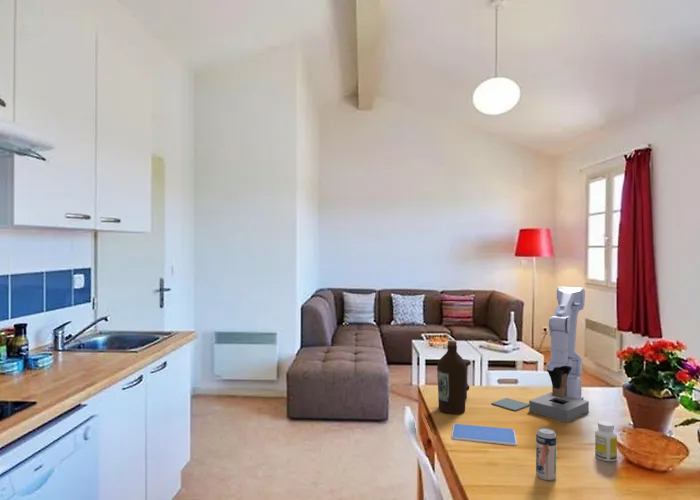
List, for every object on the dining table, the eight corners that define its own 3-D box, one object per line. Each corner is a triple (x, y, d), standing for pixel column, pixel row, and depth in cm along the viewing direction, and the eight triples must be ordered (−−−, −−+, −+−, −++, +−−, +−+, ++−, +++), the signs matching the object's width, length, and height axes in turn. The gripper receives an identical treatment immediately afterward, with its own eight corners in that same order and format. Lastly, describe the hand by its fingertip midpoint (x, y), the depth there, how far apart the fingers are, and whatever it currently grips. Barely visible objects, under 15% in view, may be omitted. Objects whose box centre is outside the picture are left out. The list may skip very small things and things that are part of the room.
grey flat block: (551, 402, 183) (551, 392, 183) (588, 411, 172) (588, 401, 172) (529, 411, 173) (529, 400, 173) (567, 422, 162) (567, 410, 162)
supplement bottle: (614, 455, 136) (615, 421, 136) (618, 463, 131) (618, 427, 131) (593, 452, 138) (593, 418, 138) (596, 460, 133) (596, 425, 133)
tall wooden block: (557, 393, 175) (557, 371, 175) (566, 396, 172) (567, 373, 172) (552, 395, 173) (552, 373, 173) (562, 398, 170) (562, 375, 170)
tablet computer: (451, 441, 147) (451, 436, 147) (453, 426, 159) (453, 422, 159) (517, 448, 142) (517, 443, 142) (514, 432, 154) (514, 428, 154)
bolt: (469, 397, 189) (469, 359, 189) (471, 401, 184) (471, 362, 184) (454, 396, 190) (454, 358, 189) (455, 400, 184) (456, 361, 184)
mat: (506, 399, 187) (506, 397, 187) (530, 405, 179) (530, 404, 179) (491, 404, 180) (491, 403, 180) (515, 411, 173) (515, 410, 173)
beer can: (532, 473, 125) (532, 427, 125) (550, 472, 126) (550, 427, 125) (541, 482, 120) (541, 434, 120) (559, 481, 121) (560, 434, 121)
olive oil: (455, 403, 181) (455, 337, 180) (472, 412, 171) (473, 343, 171) (431, 407, 176) (431, 339, 176) (447, 416, 167) (448, 345, 167)
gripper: (560, 354, 165) (560, 393, 165) (579, 348, 174) (579, 385, 174) (540, 350, 170) (540, 388, 170) (560, 345, 179) (560, 381, 180)
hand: (559, 387), depth 173 cm, fingers closed on tall wooden block, 4 cm apart
